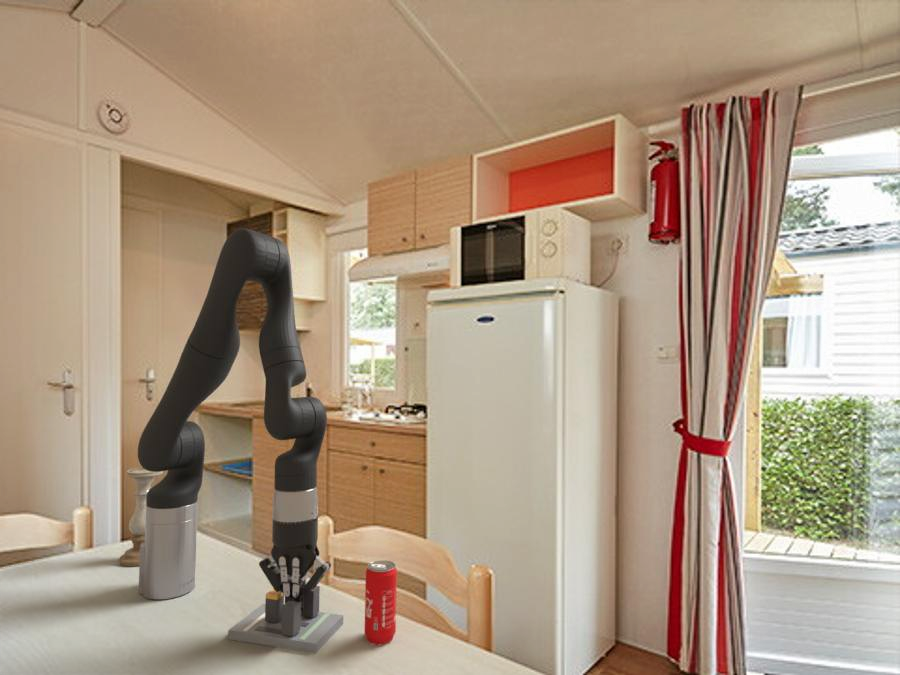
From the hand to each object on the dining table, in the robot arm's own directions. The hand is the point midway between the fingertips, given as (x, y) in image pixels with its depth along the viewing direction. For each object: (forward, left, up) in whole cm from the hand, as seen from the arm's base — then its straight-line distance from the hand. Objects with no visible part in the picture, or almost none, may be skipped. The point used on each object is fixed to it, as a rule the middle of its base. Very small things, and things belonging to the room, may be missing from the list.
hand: (294, 616), depth 94 cm
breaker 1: (-4, 0, -1) cm, 4 cm away
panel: (-1, 0, -3) cm, 3 cm away
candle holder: (-50, +20, -3) cm, 54 cm away
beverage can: (+15, +2, -3) cm, 15 cm away
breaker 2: (+1, -3, -1) cm, 4 cm away
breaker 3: (+1, +3, -1) cm, 4 cm away
